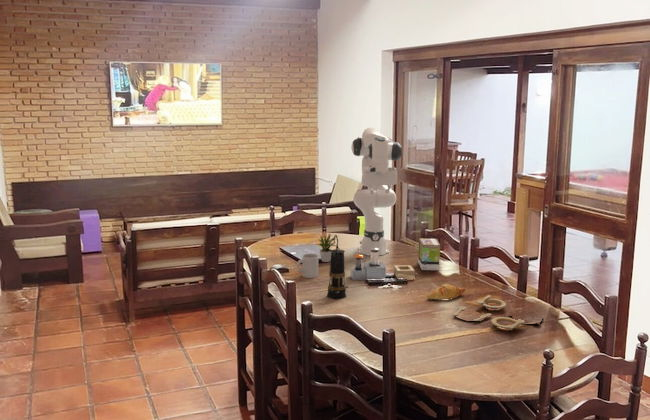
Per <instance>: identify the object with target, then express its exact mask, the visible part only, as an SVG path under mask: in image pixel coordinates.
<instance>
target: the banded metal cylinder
mask: <svg viewBox="0 0 650 420" xmlns="http://www.w3.org/2000/svg"><path fill="white" fill-rule="evenodd" d="M379 256H380V255H379V248H376V247H373V248H371V255H370V262H371V266H378V262H379Z"/></svg>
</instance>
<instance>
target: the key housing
mask: <svg viewBox="0 0 650 420" xmlns="http://www.w3.org/2000/svg"><path fill="white" fill-rule="evenodd" d="M355 269H356V266H350V277H351V278H350V279H352V281H366V270H365V268H364V267H363V266H361V270H355Z"/></svg>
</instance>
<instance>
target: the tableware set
mask: <svg viewBox="0 0 650 420" xmlns="http://www.w3.org/2000/svg"><path fill="white" fill-rule="evenodd" d="M476 303H477V304H479V305H482V306H483V307H484V306H485V307H487V308H491V309H498V308H501V309H503V308H505V307H506V306H507V302H505V301H504V300H502V299H498V298H492V295H490V294H488V295H486V296H485V297H484V298H482V299H478V300H476ZM488 303H496V304H499V305H500V306H490V305H487V304H488ZM485 307H484V308H485ZM465 309H467V307H466V306H462V305H459V306H458V307H457V310H456V311H455V312H454V313H453V314H452V316H453V317H455V316H458V314H459V313H460V312H461V311H464V310H465ZM483 314H484V313H483ZM490 315H492V316H493V314H492V313H485V314H484V315H481V316H479V317H480V318H477V319H474V320H473V321H478V320H480V319H483V318H485V317H487V318H489V317H488V316H490ZM490 317H491V316H490ZM485 319H486V318H485ZM500 321H509V322H513V323H514V324H513V325H511V326H505V325H500V324H498V322H500ZM490 322H491V324H492V325H493V326H495V327H496V326H497V327H501V328H506V329H513V328H514V329H517V328H519V327H520V326H521V325H524V324H523V323H524V322H525V321H524V320H521V319H518V320H515V319H512V318H511V317H504V316H496V317H493V318H492V319H491V320H490ZM497 327H496V328H497ZM514 329H513V330H514Z"/></svg>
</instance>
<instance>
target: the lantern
mask: <svg viewBox="0 0 650 420" xmlns="http://www.w3.org/2000/svg"><path fill="white" fill-rule="evenodd" d="M333 238H334V240H333V244H334V245H335V246H336V247H335V249H331V251H330V252H331V260H330V267H329V274H328V276H329V284H328V287H327V294H326V297H327V298H328V299H332V300H341V299H345V298H346V297H347V294H346V291H347V290H346V289H348V288H349V286H346V285H345V283H346V282H345V281H346V280H345V276H346V272H345V252H346V251H345V250H343V249H340V248H339V238H338V235H337V234H335V235H334V237H333ZM335 240H336V241H335ZM335 243H336V244H335Z"/></svg>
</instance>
